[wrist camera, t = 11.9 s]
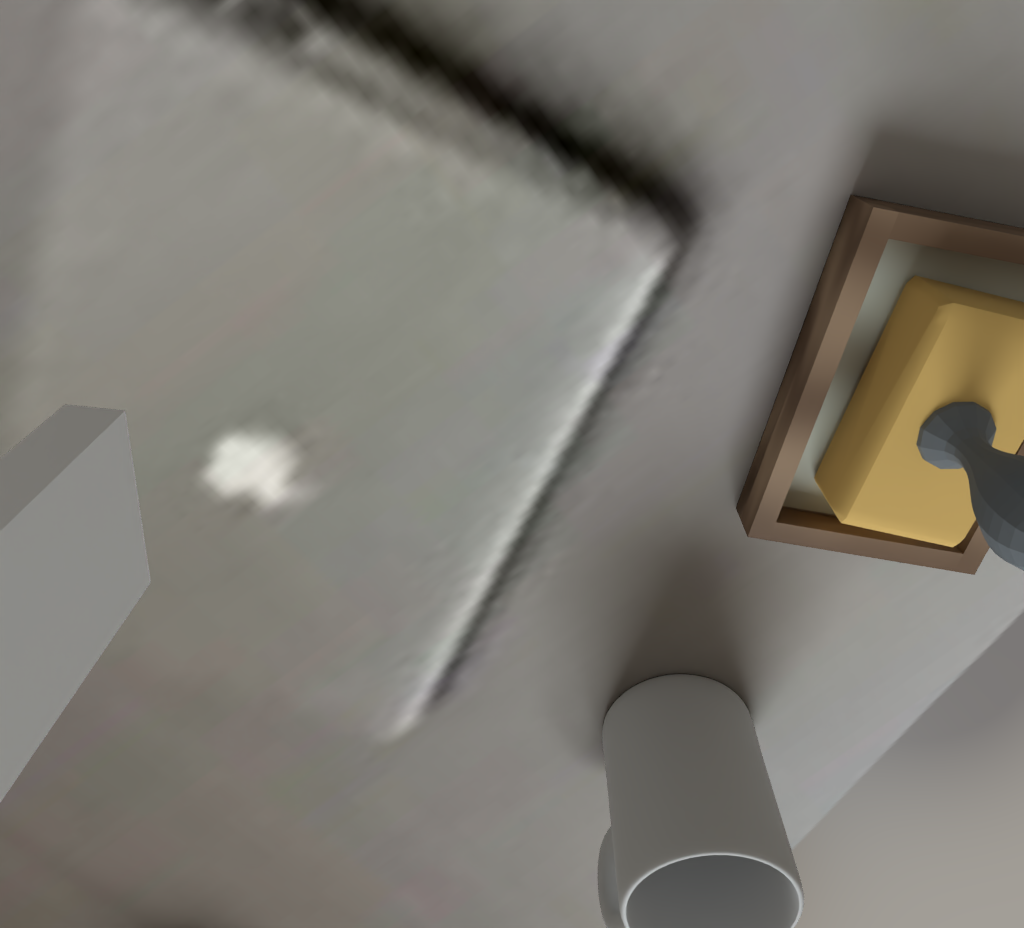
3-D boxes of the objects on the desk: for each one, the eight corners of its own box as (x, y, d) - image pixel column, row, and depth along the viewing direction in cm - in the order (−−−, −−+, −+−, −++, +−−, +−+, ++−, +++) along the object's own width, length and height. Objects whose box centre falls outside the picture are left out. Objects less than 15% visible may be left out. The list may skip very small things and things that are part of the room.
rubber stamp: (906, 272, 33) (1080, 391, 23) (1038, 305, 34) (1269, 436, 23) (808, 480, 38) (915, 659, 27) (925, 506, 38) (1074, 692, 28)
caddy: (851, 194, 33) (873, 207, 31) (1108, 245, 34) (1148, 261, 31) (736, 508, 40) (747, 536, 38) (950, 544, 41) (974, 574, 38)
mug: (660, 648, 44) (695, 824, 35) (782, 712, 46) (847, 894, 37) (540, 777, 49) (541, 962, 40) (654, 829, 51) (682, 1017, 42)
